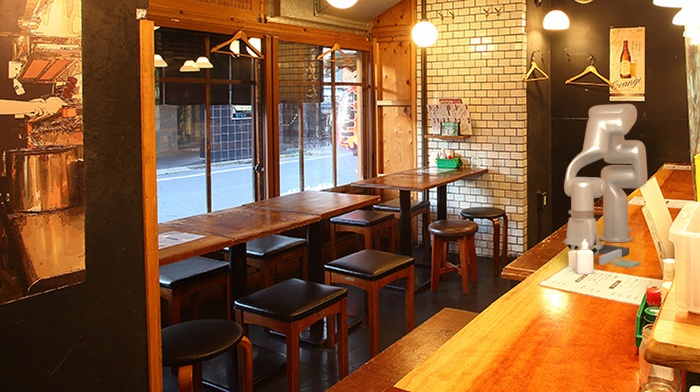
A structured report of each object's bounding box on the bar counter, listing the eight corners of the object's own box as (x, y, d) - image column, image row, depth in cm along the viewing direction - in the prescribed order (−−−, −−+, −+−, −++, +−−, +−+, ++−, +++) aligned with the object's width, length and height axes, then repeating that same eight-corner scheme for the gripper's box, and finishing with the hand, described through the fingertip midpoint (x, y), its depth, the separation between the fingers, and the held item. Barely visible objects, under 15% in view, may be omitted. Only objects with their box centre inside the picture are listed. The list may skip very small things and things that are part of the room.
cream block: (577, 263, 218) (577, 248, 218) (590, 265, 214) (590, 250, 214) (568, 266, 215) (568, 251, 214) (581, 268, 211) (581, 253, 210)
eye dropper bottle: (577, 270, 209) (577, 237, 207) (594, 272, 206) (594, 238, 204) (574, 273, 205) (574, 240, 204) (592, 275, 202) (592, 241, 201)
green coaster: (621, 260, 218) (621, 259, 218) (640, 263, 213) (640, 262, 213) (611, 264, 214) (611, 263, 214) (631, 267, 208) (631, 266, 208)
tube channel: (595, 253, 231) (595, 245, 230) (621, 257, 223) (621, 249, 222) (575, 260, 222) (575, 252, 222) (602, 265, 214) (602, 256, 214)
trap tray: (604, 250, 234) (604, 244, 234) (629, 254, 226) (629, 247, 226) (597, 252, 231) (597, 246, 231) (622, 256, 223) (622, 250, 223)
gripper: (555, 213, 218) (556, 262, 220) (599, 218, 204) (599, 269, 207) (567, 210, 222) (567, 258, 225) (610, 215, 209) (610, 265, 212)
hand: (582, 263), depth 216 cm, fingers closed on cream block, 5 cm apart
